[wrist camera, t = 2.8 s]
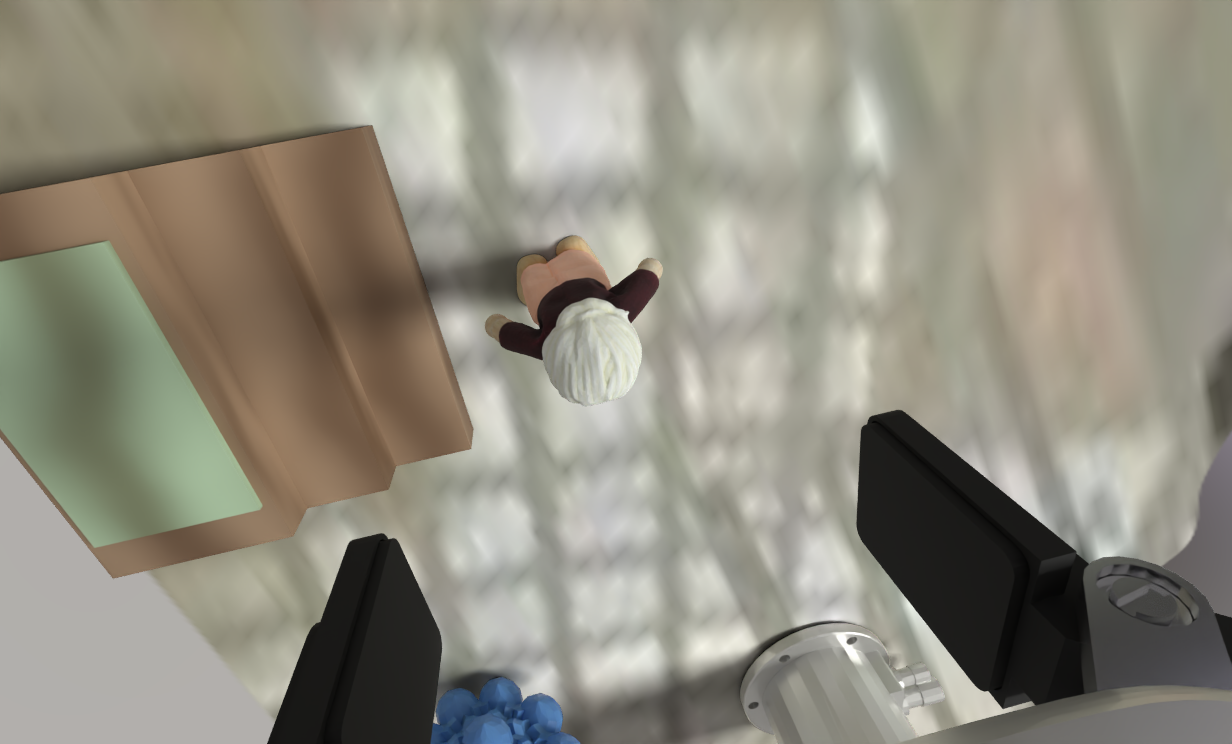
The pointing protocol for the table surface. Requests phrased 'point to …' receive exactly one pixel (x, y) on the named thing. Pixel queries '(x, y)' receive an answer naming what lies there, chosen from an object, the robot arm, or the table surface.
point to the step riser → (218, 347)
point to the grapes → (498, 717)
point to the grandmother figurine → (579, 321)
